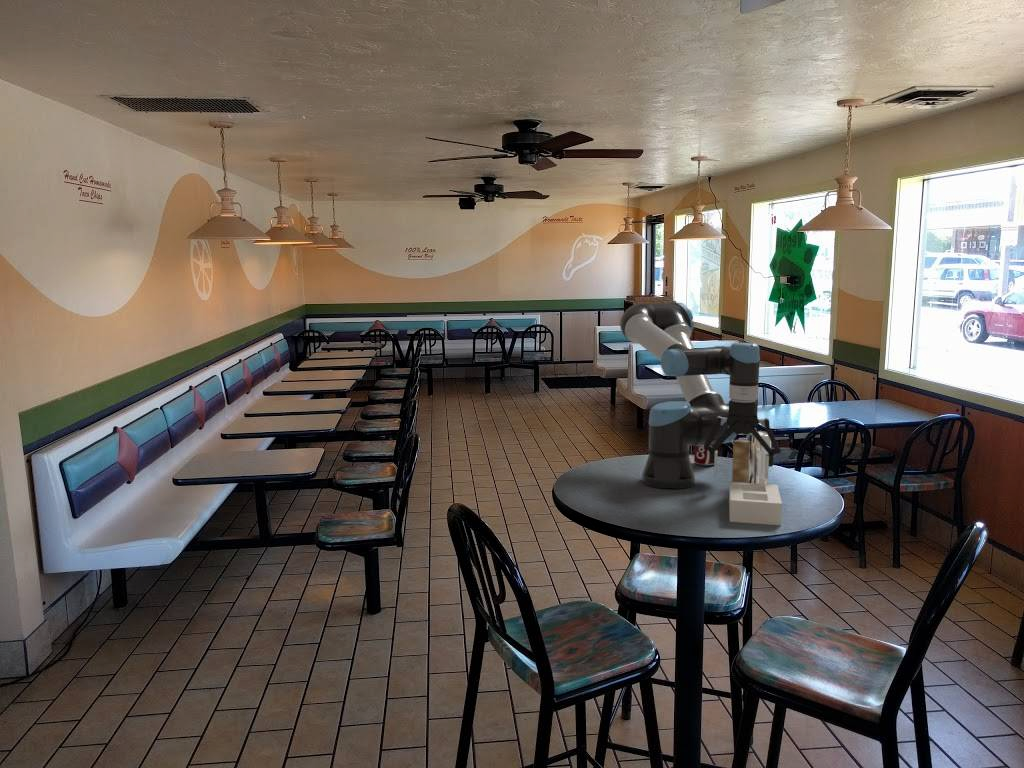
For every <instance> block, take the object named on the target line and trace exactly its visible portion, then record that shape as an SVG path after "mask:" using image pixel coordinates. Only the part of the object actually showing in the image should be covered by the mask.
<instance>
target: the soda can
mask: <svg viewBox="0 0 1024 768" xmlns="http://www.w3.org/2000/svg"><path fill="white" fill-rule="evenodd" d="M710 446H713V444H711V445H710ZM693 458H694V459H693V460H694V461H693V462H694V463H695V464H697V465H698V466H700V465H701V467H710V466H709V465H712V466H713V465H714V464H713V463H710V451H708V450H705V449H704V445H697V446H694V456H693Z"/></svg>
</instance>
